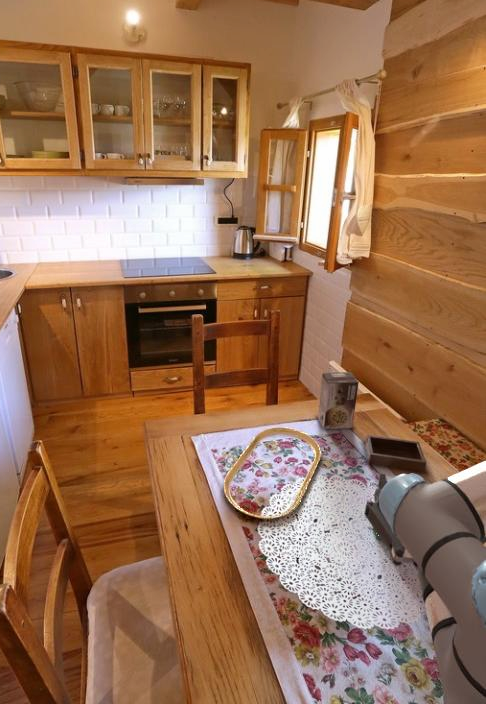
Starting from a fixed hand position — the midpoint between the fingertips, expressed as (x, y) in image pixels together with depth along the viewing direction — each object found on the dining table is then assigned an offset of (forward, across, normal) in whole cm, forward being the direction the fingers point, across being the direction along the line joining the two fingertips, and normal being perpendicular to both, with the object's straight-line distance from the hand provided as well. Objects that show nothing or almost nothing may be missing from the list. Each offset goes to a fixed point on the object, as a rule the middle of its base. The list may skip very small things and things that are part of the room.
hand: (422, 487), depth 71 cm
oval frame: (+22, -27, -22) cm, 41 cm away
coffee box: (+47, -12, -21) cm, 53 cm away
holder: (+35, +3, -20) cm, 41 cm away
